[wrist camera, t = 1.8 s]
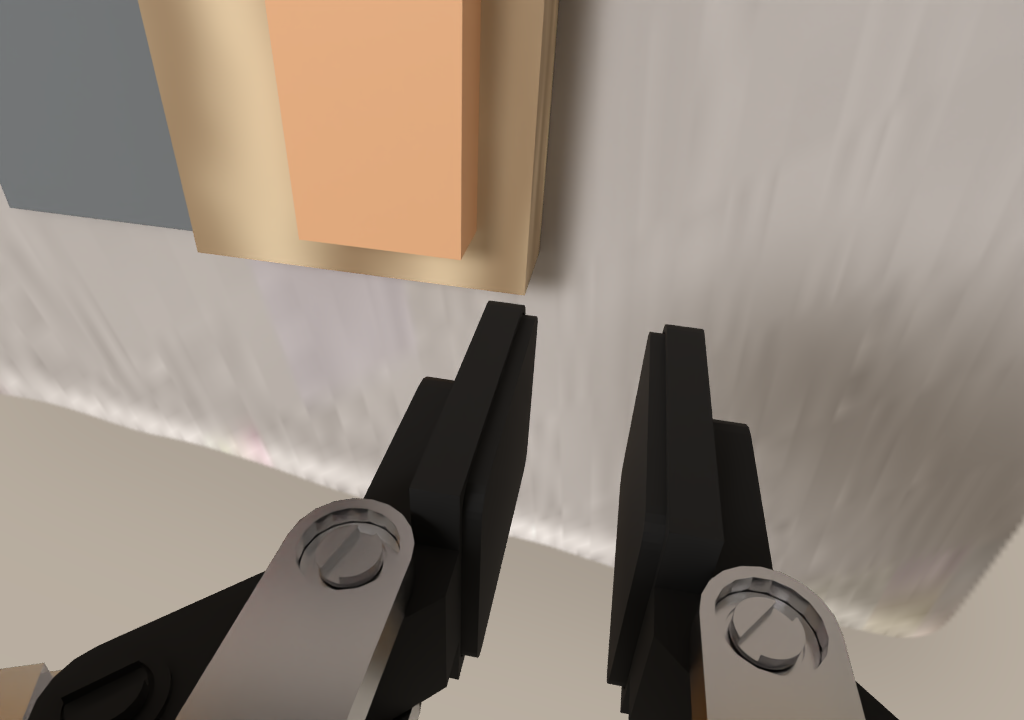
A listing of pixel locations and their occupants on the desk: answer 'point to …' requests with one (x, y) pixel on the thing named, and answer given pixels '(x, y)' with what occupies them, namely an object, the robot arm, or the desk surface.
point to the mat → (84, 114)
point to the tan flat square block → (263, 159)
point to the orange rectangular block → (381, 120)
